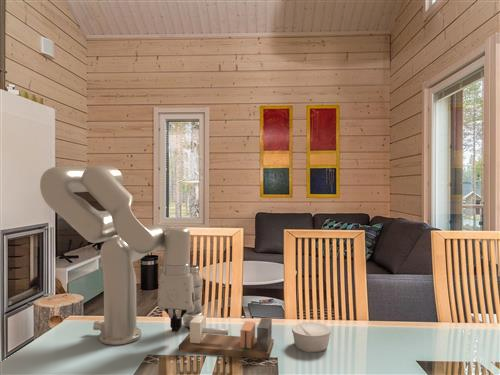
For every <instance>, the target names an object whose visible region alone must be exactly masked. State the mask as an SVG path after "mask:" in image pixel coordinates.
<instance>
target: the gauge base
mask: <svg viewBox="0 0 500 375" xmlns="http://www.w3.org/2000/svg"><path fill="white" fill-rule="evenodd" d="M272 326H273V325H272V318H270V317H269V318H268V317H261V318H260V320H259V323H258V325H257V327H256V337H255V340H254V343H253V345H252V347H251V348H246V350H244V348H240V335H238V336H237V335H219V334H206V336H205V337H204V339H203V340H202V341H201V343H190V332H189V333H188V334H187V335H186V336H185V338H184V339H183V340H182V341H181V342H180V343H179V345H178V352H188V353H198V354H209V355H221V356H222V355H223V356H231V357H242V358H243V357H245V358H253V359H254V358H256V359H266V360H267V359H268V360H269V359H270V357H271V353H272V351H273V348H274V347H273V346H274V345H275V344H274V342H275V341H274V340H275V339H273V338H272V337H273V336H272V330H273V327H272Z"/></svg>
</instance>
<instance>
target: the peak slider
mask: <svg viewBox="0 0 500 375" xmlns="http://www.w3.org/2000/svg"><path fill="white" fill-rule="evenodd" d="M239 336H240V348H244V350H246V348H251V347H252V345H253V343H254V340H255V338H256V321H247V320H245V321H244V322H243V325H242V326H241V328H240V334H239Z"/></svg>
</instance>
